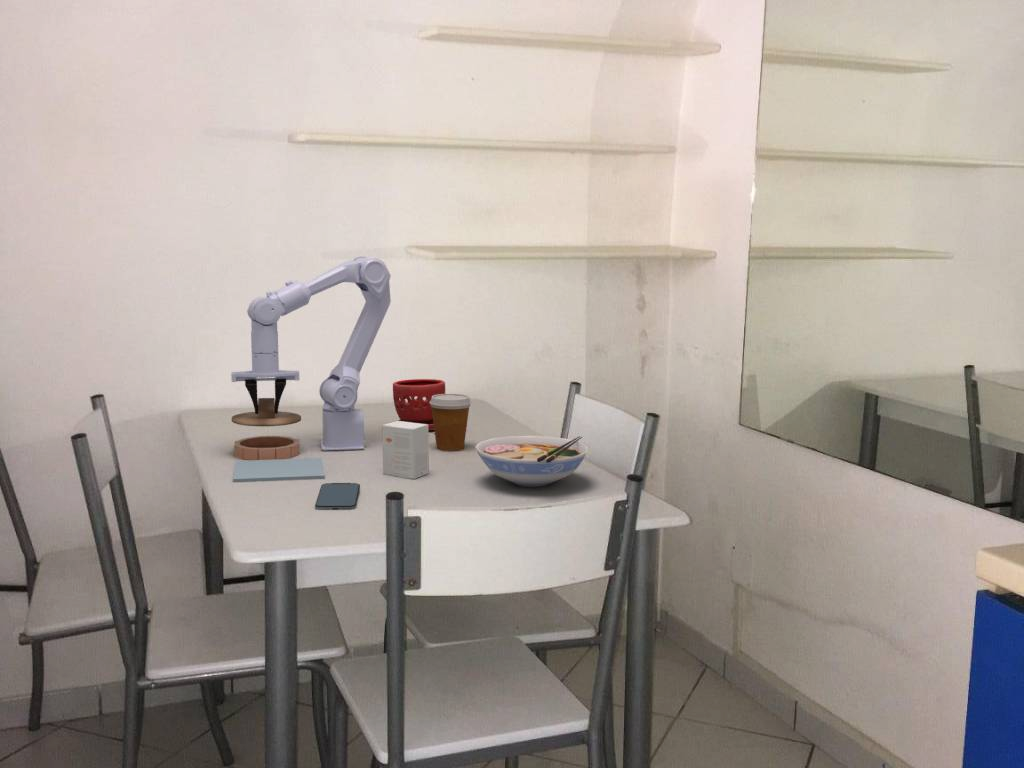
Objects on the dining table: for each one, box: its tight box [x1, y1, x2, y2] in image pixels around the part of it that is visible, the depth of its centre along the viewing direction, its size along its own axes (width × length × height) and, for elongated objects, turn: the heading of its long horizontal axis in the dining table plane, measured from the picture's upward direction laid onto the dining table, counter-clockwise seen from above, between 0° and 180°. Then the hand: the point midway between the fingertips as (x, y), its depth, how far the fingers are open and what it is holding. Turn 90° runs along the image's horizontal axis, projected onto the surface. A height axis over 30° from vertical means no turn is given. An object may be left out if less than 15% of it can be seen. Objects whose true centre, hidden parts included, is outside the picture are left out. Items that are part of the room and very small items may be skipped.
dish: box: [233, 435, 300, 461], centre depth 236 cm, size 14×14×2 cm
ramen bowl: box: [474, 435, 589, 488], centre depth 213 cm, size 25×23×8 cm
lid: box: [231, 397, 302, 427], centre depth 235 cm, size 15×15×5 cm
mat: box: [232, 457, 326, 483], centre depth 221 cm, size 18×16×1 cm
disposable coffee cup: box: [430, 393, 472, 452], centre depth 243 cm, size 10×10×12 cm
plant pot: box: [392, 378, 446, 432], centre depth 266 cm, size 13×13×12 cm
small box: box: [381, 420, 430, 480], centre depth 219 cm, size 8×6×10 cm
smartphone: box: [314, 482, 361, 511], centre depth 200 cm, size 8×2×15 cm
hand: (266, 413), depth 235 cm, fingers closed on lid, 3 cm apart
